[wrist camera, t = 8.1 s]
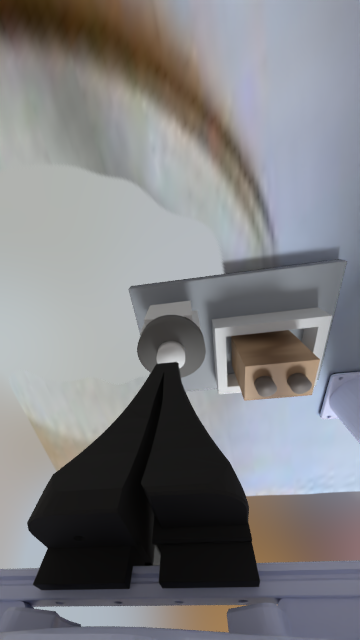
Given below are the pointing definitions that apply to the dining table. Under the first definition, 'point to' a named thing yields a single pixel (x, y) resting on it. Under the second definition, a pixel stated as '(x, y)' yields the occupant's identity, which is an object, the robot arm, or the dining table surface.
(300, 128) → the dining table surface
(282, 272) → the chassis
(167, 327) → the wheel
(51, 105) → the dining table surface
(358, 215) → the dining table surface
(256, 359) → the block with grey pegs
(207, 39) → the dining table surface
